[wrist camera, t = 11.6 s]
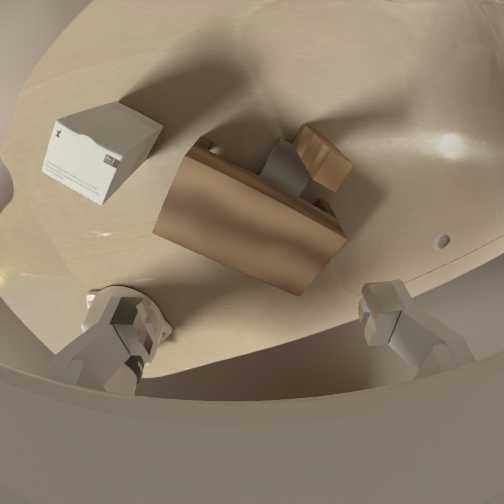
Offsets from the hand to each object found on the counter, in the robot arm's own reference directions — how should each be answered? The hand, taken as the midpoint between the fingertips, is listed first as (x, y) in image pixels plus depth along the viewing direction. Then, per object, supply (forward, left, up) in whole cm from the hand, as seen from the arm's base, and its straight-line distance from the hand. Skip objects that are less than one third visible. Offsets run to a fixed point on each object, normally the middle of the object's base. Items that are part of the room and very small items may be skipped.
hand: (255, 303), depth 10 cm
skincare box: (-6, +15, -29) cm, 33 cm away
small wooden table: (-8, -4, -29) cm, 30 cm away
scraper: (-4, -6, -29) cm, 30 cm away
